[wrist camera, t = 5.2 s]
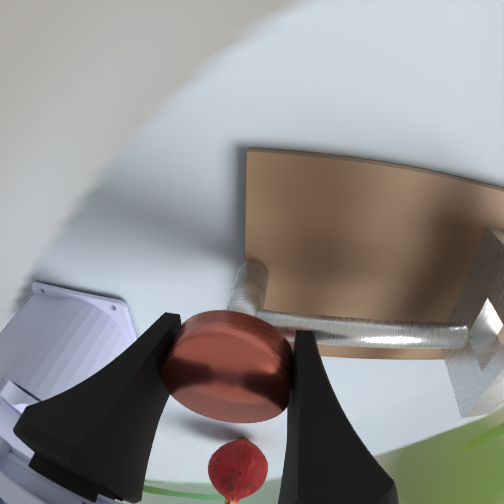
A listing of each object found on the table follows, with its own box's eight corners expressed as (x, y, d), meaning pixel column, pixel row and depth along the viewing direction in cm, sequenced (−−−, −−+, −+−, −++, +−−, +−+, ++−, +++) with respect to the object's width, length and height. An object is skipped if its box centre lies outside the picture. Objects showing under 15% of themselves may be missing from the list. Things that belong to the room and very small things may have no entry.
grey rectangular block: (437, 339, 17) (461, 418, 12) (486, 226, 12) (547, 299, 7) (465, 339, 16) (492, 412, 11) (516, 232, 12) (574, 300, 7)
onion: (214, 422, 27) (195, 494, 20) (273, 430, 26) (262, 505, 19) (219, 444, 30) (203, 505, 23) (270, 451, 29) (260, 514, 23)
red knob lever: (212, 302, 17) (172, 411, 11) (208, 230, 15) (149, 339, 9) (427, 321, 16) (459, 424, 10) (455, 256, 13) (513, 360, 7)
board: (245, 338, 20) (243, 348, 19) (249, 147, 13) (246, 151, 13) (491, 349, 18) (495, 356, 17) (559, 206, 11) (566, 211, 11)
